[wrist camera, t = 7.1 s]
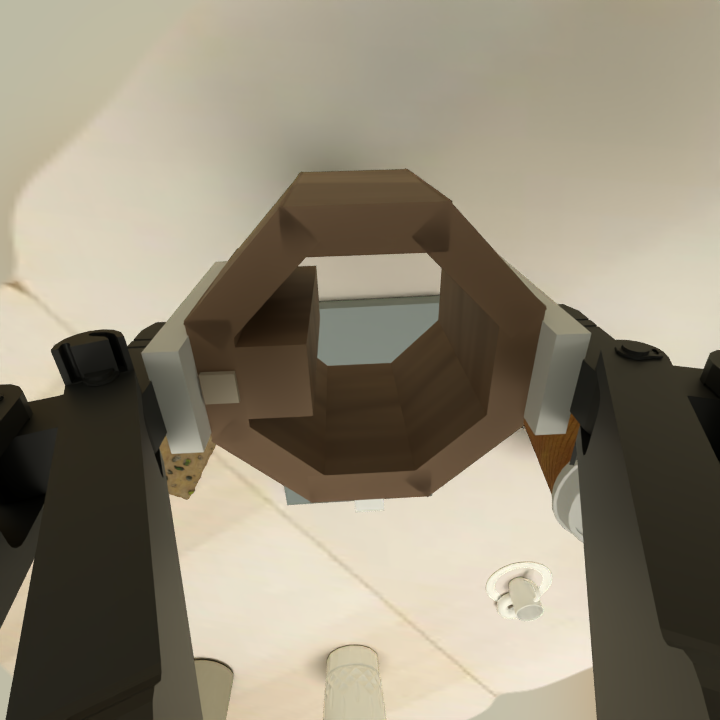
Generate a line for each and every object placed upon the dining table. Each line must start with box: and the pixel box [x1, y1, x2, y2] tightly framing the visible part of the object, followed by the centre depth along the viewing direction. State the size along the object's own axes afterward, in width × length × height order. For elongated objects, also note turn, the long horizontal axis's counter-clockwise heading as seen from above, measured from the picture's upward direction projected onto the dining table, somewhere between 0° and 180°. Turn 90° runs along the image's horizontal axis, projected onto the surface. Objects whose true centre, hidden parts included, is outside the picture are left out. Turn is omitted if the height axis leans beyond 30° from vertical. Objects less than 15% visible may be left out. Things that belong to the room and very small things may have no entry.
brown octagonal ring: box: [183, 168, 547, 503], centre depth 13 cm, size 8×8×6 cm
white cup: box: [323, 645, 386, 720], centre depth 54 cm, size 8×8×10 cm
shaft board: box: [284, 296, 440, 512], centre depth 34 cm, size 14×20×10 cm
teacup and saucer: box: [486, 562, 552, 621], centre depth 51 cm, size 9×8×4 cm
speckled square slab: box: [159, 435, 216, 500], centre depth 39 cm, size 12×12×1 cm
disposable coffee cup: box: [524, 414, 584, 543], centre depth 34 cm, size 10×10×12 cm
